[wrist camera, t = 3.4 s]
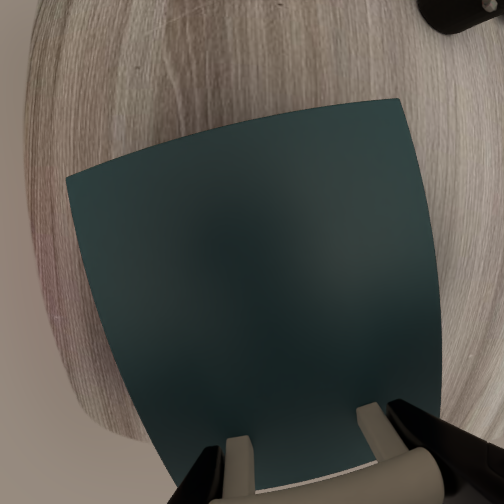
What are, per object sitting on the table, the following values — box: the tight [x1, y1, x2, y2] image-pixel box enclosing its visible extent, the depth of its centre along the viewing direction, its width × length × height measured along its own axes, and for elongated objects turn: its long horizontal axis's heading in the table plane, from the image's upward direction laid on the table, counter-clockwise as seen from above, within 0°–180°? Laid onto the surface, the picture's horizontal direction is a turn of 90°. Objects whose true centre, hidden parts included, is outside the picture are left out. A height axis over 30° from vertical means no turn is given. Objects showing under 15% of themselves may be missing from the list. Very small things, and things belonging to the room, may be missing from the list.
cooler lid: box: [66, 98, 444, 504], centre depth 6 cm, size 11×10×5 cm
